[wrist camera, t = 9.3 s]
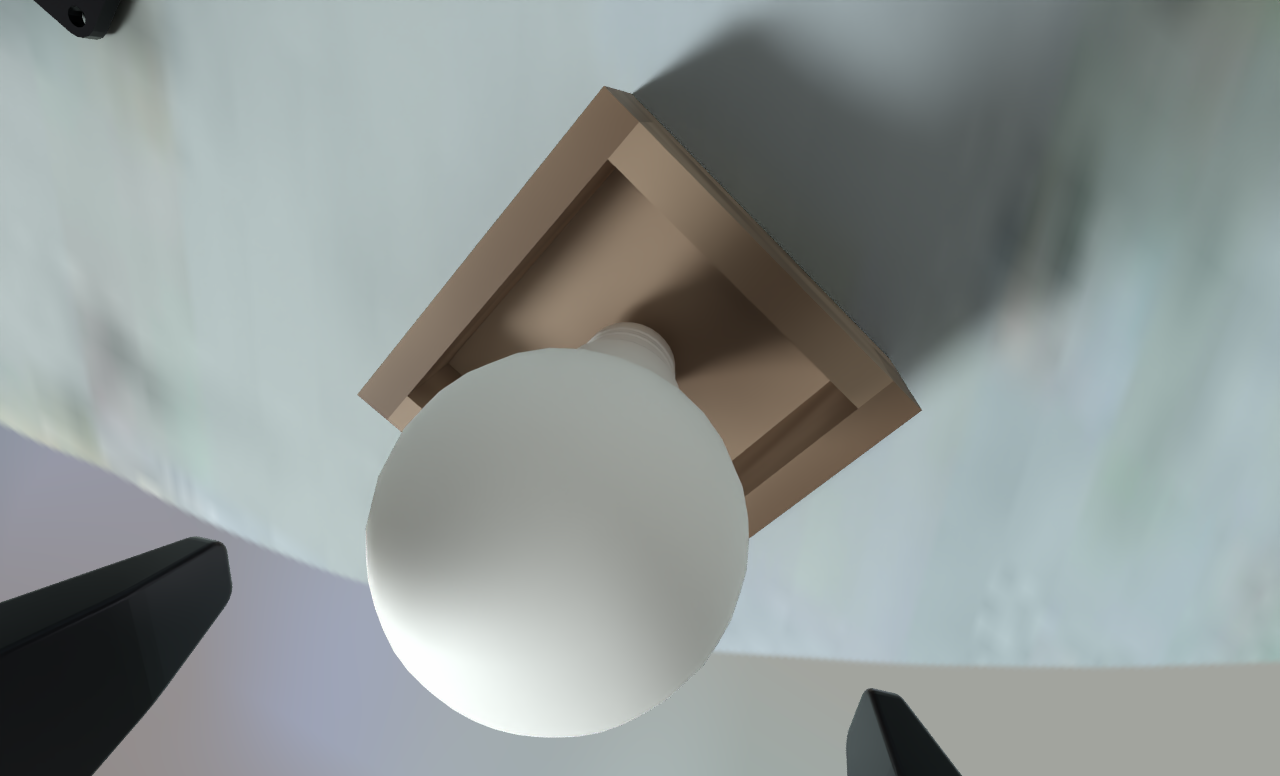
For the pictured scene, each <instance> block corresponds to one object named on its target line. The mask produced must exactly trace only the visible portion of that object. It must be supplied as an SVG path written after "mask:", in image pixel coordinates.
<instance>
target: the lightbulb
mask: <svg viewBox="0 0 1280 776" xmlns="http://www.w3.org/2000/svg"><path fill="white" fill-rule="evenodd" d="M748 544H749V528H748V514H747V508H746V503H745V497H744V491H743V487H742V484H741V482H740V479H739V477H738V475H737V472H736V470H735V468H734V465H733V463H732V461H731V458H730V456H729V454H728V451H727V449H726V447H725V444H724V442H723V440H722V438H721V437H720V435H719V434H718V432H717V431H716V429H715V428H714V427H713V425H712V424H711V422H710V421H709V419H708V418H707V417H706V415H705V414H704V412H703V411H701V410H700V409H699V408H698V407H697V406H696V405H695V404H694V403H693V402H692V401H691V400H690V399H689V398H688V397H687V396H686V395H685V394H684V393H683V392H682V391H681V390H680V389H679V387H678V384H677V382H676V380H675V361H674V356H673V353H672V351H671V349H670V347H669V345H668V344H667V342H666V341H665V339H663V338H662V337H661V336H660V335H659V334H658V333H657V332H655V331H654V330H652V329H651V328H649V327H647V326H644V325H642V324H637V323H633V322H622V323H616V324H612V325H610V326H607V327H605V328H603V329H602V330H600V331H599V332H598V333H597V334H596V335H595V336H594V337H593V338H592V339H591V340H590V341H589V342H588V343H587V344H585V345H582V346H580V347H579V348H577V349H567V348H545V349H539V350H533V351H527V352H520V353H516V354H513V355H510V356H508V357H505V358H503V359H500V360H497V361H495V362H492V363H489V364H487V365H484V366H482V367H480V368H477V369H475V370H473V371H470V372H468V373H466V374H465V375H463V376H462V377H460V378H459V379H457V380H456V381H454V382H453V383H451V384H450V385H448V386H447V387H445V388H443V389H442V390H440V391H439V392H438V393H437V394H436V395H435V396H434V397H433V398H432V399H431V400H430V401H429V402H428V403H427V404H426V405H425V406H424V407H423V408H422V410H421V411H420V412H419V413H418V414H417V415H416V416H415V417H414V418H413V419H412V420H411V421H410V423H409V424H408V425H407V426H406V427H405V428H404V429H403V431H402V433H401V435H400V437H399V439H398V441H397V442H396V444H395V446H394V448H393V450H392V452H391V454H390V455H389V457H388V459H387V461H386V463H385V465H384V467H383V469H382V471H381V473H380V475H379V476H378V480H377V484H376V488H375V492H374V496H373V500H372V504H371V508H370V513H369V517H368V521H367V525H366V561H367V572H368V582H369V586H370V590H371V594H372V598H373V602H374V606H375V609H376V612H377V615H378V617H379V620H380V622H381V625H382V628H383V630H384V632H385V634H386V636H387V639H388V641H389V642H390V644H391V647H392V649H393V651H394V652H395V653H396V655H397V656H398V658H399V659H400V660H401V662H402V663H403V664H404V666H405V667H406V668H407V670H408V671H409V672H410V673H411V674H412V675H413V676H414V677H415V678H416V679H417V680H418V681H419V682H420V683H421V684H422V685H423V686H424V687H425V688H426V689H427V690H429V691H430V692H431V693H432V694H433V695H435V696H436V697H437V698H438V699H440V700H441V701H442V702H444V703H445V704H447V705H448V706H449V707H451V708H452V709H453V710H455V711H457V712H458V713H460V714H462V715H464V716H466V717H467V718H469V719H471V720H473V721H476V722H478V723H480V724H483V725H486V726H488V727H491V728H493V729H496V730H500V731H504V732H509V733H512V734H516V735H525V736H533V737H577V736H583V735H589V734H595V733H601V732H603V731H606V730H609V729H612V728H615V727H617V726H620V725H623V724H625V723H627V722H629V721H631V720H633V719H635V718H636V717H638V716H640V715H642V714H644V713H646V712H647V711H649V710H651V709H652V708H654V707H656V706H657V705H659V704H660V703H662V702H664V701H666V700H667V699H668V698H669V697H670V696H671V695H672V694H674V693H675V692H676V691H677V690H678V689H679V688H680V687H681V686H682V685H683V684H685V682H687V681H688V680H689V679H690V678H691V677H692V676H693V675H694V674H695V673H696V672H697V671H698V670H699V669H700V668H701V667H702V666H704V664H705V663H706V661H707V660H708V658H709V657H710V655H711V653H712V652H713V650H714V649H715V647H716V646H717V644H718V643H719V641H720V639H721V637H722V635H723V634H724V632H725V630H726V628H727V626H728V625H729V623H730V621H731V619H732V616H733V613H734V610H735V607H736V604H737V601H738V598H739V595H740V592H741V588H742V584H743V581H744V577H745V574H746V570H747V559H748Z"/></svg>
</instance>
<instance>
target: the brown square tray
mask: <svg viewBox="0 0 1280 776" xmlns="http://www.w3.org/2000/svg"><path fill="white" fill-rule="evenodd" d="M622 322H633V323H637V324H642V325H644V326H647V327H649V328H651V329H652V330H654V331H655V332H657V333H658V334H659V335H660V336H661V337H662V338H663V339H665V341H666V342H667V344H668V345H669V347H670V349H671V351H672V353H673V356H674V361H675V380H676V382H677V384H678V387H679V389H680V390H681V391H682V392H683V393H684V394H685V395H686V396H687V397H688V398H689V399H690V400H691V401H692V402H693V403H694V404H695V405H696V406H697V407H698V408H699V409H700V410H701V411H703V412H704V414H705V415H706V417H707V418H708V419H709V421H710V422H711V424H712V425H713V427H714V428H715V429H716V431H717V432H718V434H719V435H720V437H721V438H722V440H723V442H724V444H725V447H726V449H727V451H728V454H729V456H730V458H731V461H732V463H733V465H734V468H735V470H736V472H737V475H738V477H739V479H740V482H741V484H742V487H743V491H744V497H745V503H746V508H747V514H748V528H749V538H750V537H752V536H753V535H754V534H756V533H757V532H758V531H760V530H761V529H763V528H764V527H765V526H767V525H768V524H769V523H771V522H772V521H773V520H775V519H776V518H777V517H779V516H780V515H781V514H783V513H784V512H785V511H787V510H788V509H789V508H791V507H792V506H794V505H795V504H796V503H798V502H799V501H800V500H802V499H803V498H804V497H806V496H807V495H808V494H810V493H811V492H812V491H814V490H815V489H816V488H818V487H819V486H821V485H822V484H823V483H825V482H826V481H827V480H829V479H830V478H831V477H833V476H834V475H835V474H837V473H838V472H839V471H841V470H842V469H843V468H845V467H846V466H847V465H849V464H850V463H852V462H853V461H854V460H856V459H857V458H858V457H860V456H861V455H862V454H864V453H865V452H866V451H868V450H869V449H870V448H872V447H873V446H874V445H876V444H877V443H879V442H880V441H881V440H883V439H884V438H885V437H887V436H888V435H889V434H891V433H892V432H893V431H895V430H896V429H897V428H899V427H900V426H901V425H903V424H904V423H905V422H907V421H908V420H910V419H911V418H912V417H914V416H915V415H916V414H918V413H919V412H920V411H922V410H921V408H920V406H919V405H918V403H917V402H916V400H915V399H914V397H913V395H912V394H911V392H910V391H909V389H908V387H907V386H906V384H905V383H904V381H903V379H902V378H901V376H900V375H899V373H898V372H897V370H896V368H895V367H894V365H893V364H892V362H891V360H890V359H889V358H888V357H887V356H886V355H885V354H884V353H883V352H882V351H881V350H880V349H879V348H878V347H877V346H876V344H875V343H874V342H873V341H872V340H871V339H870V338H869V337H868V336H867V335H866V334H865V333H864V332H863V331H862V330H861V329H860V328H859V327H858V326H857V325H856V324H855V323H854V322H853V321H852V320H851V319H850V318H849V317H848V316H847V315H846V314H845V313H844V312H843V311H842V310H841V309H840V308H839V306H838V305H837V304H836V303H835V302H834V301H833V300H832V299H831V298H830V297H829V296H828V295H827V294H826V293H825V292H824V291H823V290H822V289H821V288H820V287H819V286H818V285H817V284H816V283H815V282H814V281H813V280H812V279H811V278H810V277H809V276H808V275H807V274H806V273H805V272H804V271H803V269H802V268H801V267H800V266H799V265H798V264H797V263H796V262H795V261H794V260H793V259H792V258H791V257H790V256H789V255H788V254H787V253H786V252H785V251H784V250H783V249H782V248H781V247H780V246H779V245H778V244H777V243H776V242H775V241H774V240H773V239H772V238H771V237H770V236H769V235H768V234H767V233H766V231H765V230H764V229H763V228H762V227H761V226H760V225H759V224H758V223H757V222H756V221H755V220H754V219H753V218H752V217H751V216H750V215H749V214H748V213H747V212H746V211H745V210H744V209H743V208H742V207H741V206H740V205H739V204H738V203H737V202H736V201H735V200H734V199H733V198H732V197H731V196H730V194H729V193H728V192H727V191H726V190H725V189H724V188H723V187H722V186H721V185H720V184H719V183H718V182H717V181H716V180H715V179H714V178H713V177H712V176H711V175H710V174H709V173H708V172H707V171H706V170H705V169H704V168H703V167H702V166H701V165H700V164H699V163H698V162H697V161H696V160H695V159H694V158H693V156H692V155H691V154H690V153H689V152H688V151H687V150H686V149H685V148H684V147H683V146H682V145H681V144H680V143H679V142H678V141H677V140H676V139H675V138H674V137H673V136H672V135H671V134H670V133H669V132H668V131H667V130H666V129H665V128H664V127H663V126H662V125H661V124H660V123H659V122H658V121H657V120H656V118H655V117H654V116H653V115H652V114H651V113H650V112H649V111H648V110H647V109H646V108H645V107H644V106H643V105H642V104H641V103H640V102H639V101H638V100H637V99H636V98H635V97H634V96H633V95H632V94H631V93H627V92H624V91H620V90H617V89H613V88H610V87H606V86H603V88H602V89H601V90H600V91H599V93H598V94H597V95H596V96H595V98H594V99H593V100H592V101H591V103H590V104H589V105H588V106H587V108H586V109H585V110H584V112H583V113H582V114H581V115H580V117H579V118H578V119H577V120H576V122H575V123H574V124H573V125H572V127H571V128H570V129H569V130H568V132H567V133H566V134H565V135H564V137H563V138H562V139H561V140H560V142H559V143H558V144H557V145H556V147H555V148H554V149H553V150H552V152H551V153H550V154H549V155H548V157H547V158H546V159H545V160H544V162H543V163H542V164H541V165H540V167H539V168H538V169H537V170H536V172H535V173H534V174H533V175H532V177H531V178H530V179H529V180H528V182H527V183H526V184H525V185H524V187H523V188H522V189H521V190H520V192H519V193H518V194H517V195H516V197H515V198H514V199H513V200H512V202H511V203H510V204H509V205H508V207H507V208H506V209H505V210H504V212H503V213H502V214H501V215H500V217H499V218H498V219H497V220H496V222H495V223H494V224H493V225H492V227H491V228H490V229H489V230H488V232H487V233H486V234H485V235H484V237H483V238H482V239H481V240H480V242H479V243H478V244H477V245H476V247H475V248H474V249H473V250H472V252H471V253H470V254H469V255H468V257H467V258H466V259H465V260H464V262H463V263H462V264H461V265H460V267H459V268H458V269H457V270H456V272H455V273H454V274H453V275H452V277H451V278H450V279H449V281H448V282H447V283H446V284H445V286H444V287H443V288H442V289H441V291H440V292H439V293H438V294H437V296H436V297H435V298H434V299H433V301H432V302H431V303H430V304H429V306H428V307H427V308H426V309H425V311H424V312H423V313H422V314H421V316H420V317H419V318H418V319H417V321H416V322H415V323H414V324H413V326H412V327H411V328H410V329H409V331H408V332H407V333H406V334H405V336H404V337H403V338H402V339H401V341H400V342H399V343H398V344H397V346H396V347H395V348H394V349H393V351H392V352H391V353H390V354H389V356H388V357H387V358H386V359H385V361H384V362H383V363H382V364H381V366H380V367H379V368H378V369H377V371H376V372H375V373H374V374H373V376H372V377H371V378H370V379H369V381H368V382H367V383H366V384H365V386H364V387H363V388H362V389H361V391H360V392H359V393H358V394H357V395H358V396H359V397H361V398H362V399H363V400H364V401H365V402H367V403H368V404H369V405H370V406H371V407H372V408H374V409H375V410H376V411H377V412H378V413H380V414H381V415H382V416H383V417H384V418H386V419H387V420H388V421H389V422H390V423H392V424H393V425H394V426H395V427H396V428H398V429H399V430H400V431H401V432H402V431H403V429H404V428H405V427H406V426H407V425H408V424H409V423H410V421H411V420H412V419H413V418H414V417H415V416H416V415H417V414H418V413H419V412H420V411H421V410H422V408H423V407H424V406H425V405H426V404H427V403H428V402H429V401H430V400H431V399H432V398H433V397H434V396H435V395H436V394H437V393H438V392H439V391H440V390H442V389H443V388H445V387H447V386H448V385H450V384H451V383H453V382H454V381H456V380H457V379H459V378H460V377H462V376H463V375H465V374H466V373H468V372H470V371H473V370H475V369H477V368H480V367H482V366H484V365H487V364H489V363H492V362H495V361H497V360H500V359H503V358H505V357H508V356H510V355H513V354H516V353H520V352H527V351H533V350H539V349H545V348H567V349H577V348H579V347H580V346H582V345H585V344H587V343H588V342H589V341H590V340H591V339H592V338H593V337H594V336H595V335H596V334H597V333H598V332H599V331H600V330H602V329H603V328H605V327H607V326H610V325H612V324H616V323H622Z"/></svg>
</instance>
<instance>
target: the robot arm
mask: <svg viewBox="0 0 1280 776" xmlns="http://www.w3.org/2000/svg"><path fill="white" fill-rule="evenodd" d="M34 1H35V2H36V3H37V4H39V5H40V6H41V7H42V8H43V9H44V10H45V11H47V12H48V13H49V14H50V15H51V16H52V17H53V18H54V19H56V20H57V21H58V22H59V23H60V24H61V25H62V26H64V27H65V28H66V29H67V30H68V31H69V32H70V33H72V34H74V35H75V36H77V37H82V38H88V39H96V40H98V39H101V38H103V37H104V36H105V34H106V33H107V31H108V28H109V26H110V24H111V21H112V19H113V16H114V14H115V12H116V9H117V7H118V5H119V2H120V0H34ZM82 13H84V15H85V18H86V21H85V23H84V21H83V18H82ZM231 592H232V581H231V574H230V567H229V561H228V554H227V549H226V547H225V546H224V545H223V543H221V542H219V541H216V540H210V539H207V538H202V537H189V538H186V539H183V540H180V541H177V542H175V543H172V544H169V545H166V546H163V547H160V548H157V549H154V550H151V551H148V552H146V553H143V554H140V555H137V556H134V557H131V558H128V559H125V560H122V561H119V562H117V563H114V564H111V565H108V566H105V567H102V568H99V569H96V570H93V571H90V572H88V573H85V574H82V575H79V576H76V577H73V578H70V579H67V580H64V581H61V582H59V583H56V584H53V585H50V586H47V587H44V588H41V589H39V590H35V591H33V592H30V593H27V594H24V595H21V596H18V597H16V598H12V599H9V600H6V601H4V602H1V603H0V776H92V775H93V774H94V773H95V771H96V770H97V769H98V768H99V767H100V766H101V765H102V763H103V762H104V761H105V760H106V759H107V758H108V756H109V755H110V754H111V753H112V752H113V751H114V750H115V748H116V747H117V746H118V745H119V744H120V743H121V741H122V740H123V739H124V738H125V737H126V736H127V735H128V734H129V732H130V731H131V730H132V729H133V727H135V725H136V724H137V723H138V722H139V721H140V719H141V718H142V717H143V716H144V715H145V714H146V712H147V711H148V710H149V709H150V707H151V706H152V705H153V704H154V703H155V701H156V700H157V699H158V697H159V696H160V695H161V693H162V692H163V691H164V690H165V688H166V687H167V686H168V684H169V683H170V681H171V680H172V679H173V677H174V676H175V675H176V673H177V672H178V670H179V669H180V668H181V666H182V665H183V664H184V662H185V661H186V660H187V658H188V657H189V655H190V654H191V653H192V651H193V650H194V649H195V647H196V646H197V645H198V643H199V642H200V640H201V639H202V638H203V636H204V635H205V634H206V632H207V631H208V629H209V628H210V627H211V625H212V624H213V622H214V621H215V620H216V618H217V617H218V615H219V614H220V613H221V612H222V610H223V609H224V607H225V606H226V604H227V603H228V601H229V599H230V596H231ZM846 756H847V776H962V775H961V774H960V772H959V771H958V770H957V769H956V767H955V766H954V765H953V763H952V762H951V761H950V759H949V758H948V757H947V755H946V754H945V753H944V752H943V750H942V749H941V748H940V746H939V745H938V744H937V743H936V741H935V740H934V739H933V737H932V736H931V735H930V733H929V732H928V731H927V729H926V728H925V727H924V726H923V724H922V723H921V722H920V720H919V719H918V718H917V716H916V715H915V714H914V712H913V711H912V710H911V709H910V707H909V706H908V705H907V703H906V702H905V701H904V700H903V699H902V698H901V697H900V696H899V695H897V694H895V693H891V692H886V691H882V690H878V689H873V688H870V689H867V690H866V691H865V692H864V693H863V695H862V697H861V700H860V702H859V705H858V707H857V710H856V712H855V715H854V718H853V720H852V723H851V726H850V728H849V731H848V735H847V743H846Z"/></svg>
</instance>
